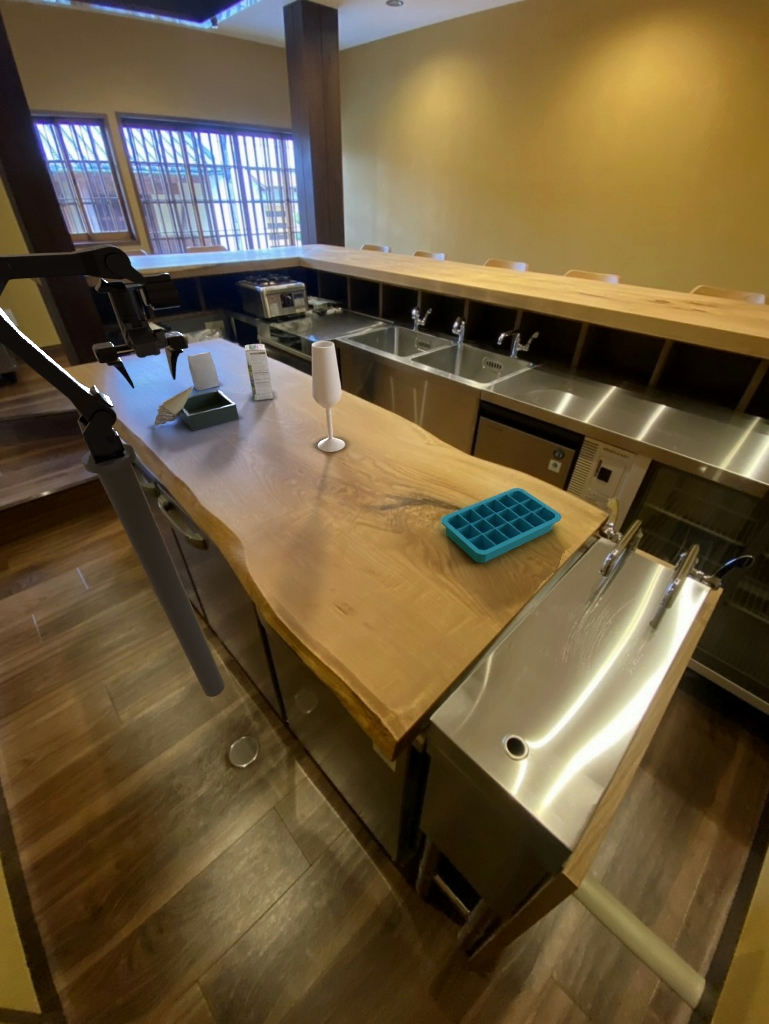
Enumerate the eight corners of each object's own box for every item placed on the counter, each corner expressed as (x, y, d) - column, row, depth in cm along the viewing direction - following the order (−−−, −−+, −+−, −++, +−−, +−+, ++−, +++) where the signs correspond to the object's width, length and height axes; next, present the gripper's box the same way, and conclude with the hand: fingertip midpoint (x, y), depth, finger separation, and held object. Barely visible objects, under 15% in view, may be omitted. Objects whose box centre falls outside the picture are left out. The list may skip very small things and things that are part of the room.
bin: (192, 431, 110) (187, 416, 107) (178, 414, 118) (173, 400, 115) (239, 418, 116) (235, 404, 113) (222, 403, 124) (219, 389, 121)
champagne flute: (350, 445, 104) (345, 344, 89) (328, 454, 100) (318, 351, 86) (334, 435, 108) (326, 337, 93) (312, 444, 104) (300, 343, 90)
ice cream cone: (190, 382, 112) (151, 421, 114) (180, 377, 107) (140, 418, 109) (203, 396, 113) (164, 435, 114) (194, 392, 107) (153, 433, 109)
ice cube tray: (436, 531, 78) (437, 518, 77) (515, 498, 87) (518, 486, 85) (478, 569, 71) (480, 556, 69) (560, 529, 79) (565, 517, 77)
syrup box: (252, 393, 129) (243, 344, 120) (272, 391, 131) (264, 343, 122) (253, 401, 125) (244, 350, 116) (274, 398, 126) (266, 348, 117)
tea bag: (219, 385, 134) (212, 353, 128) (198, 390, 131) (189, 357, 125) (215, 382, 137) (207, 350, 131) (194, 387, 133) (185, 354, 127)
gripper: (87, 328, 82) (118, 404, 92) (185, 314, 91) (204, 385, 100) (78, 316, 89) (108, 388, 99) (171, 304, 98) (190, 371, 107)
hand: (154, 383), depth 101 cm, fingers open, 9 cm apart
